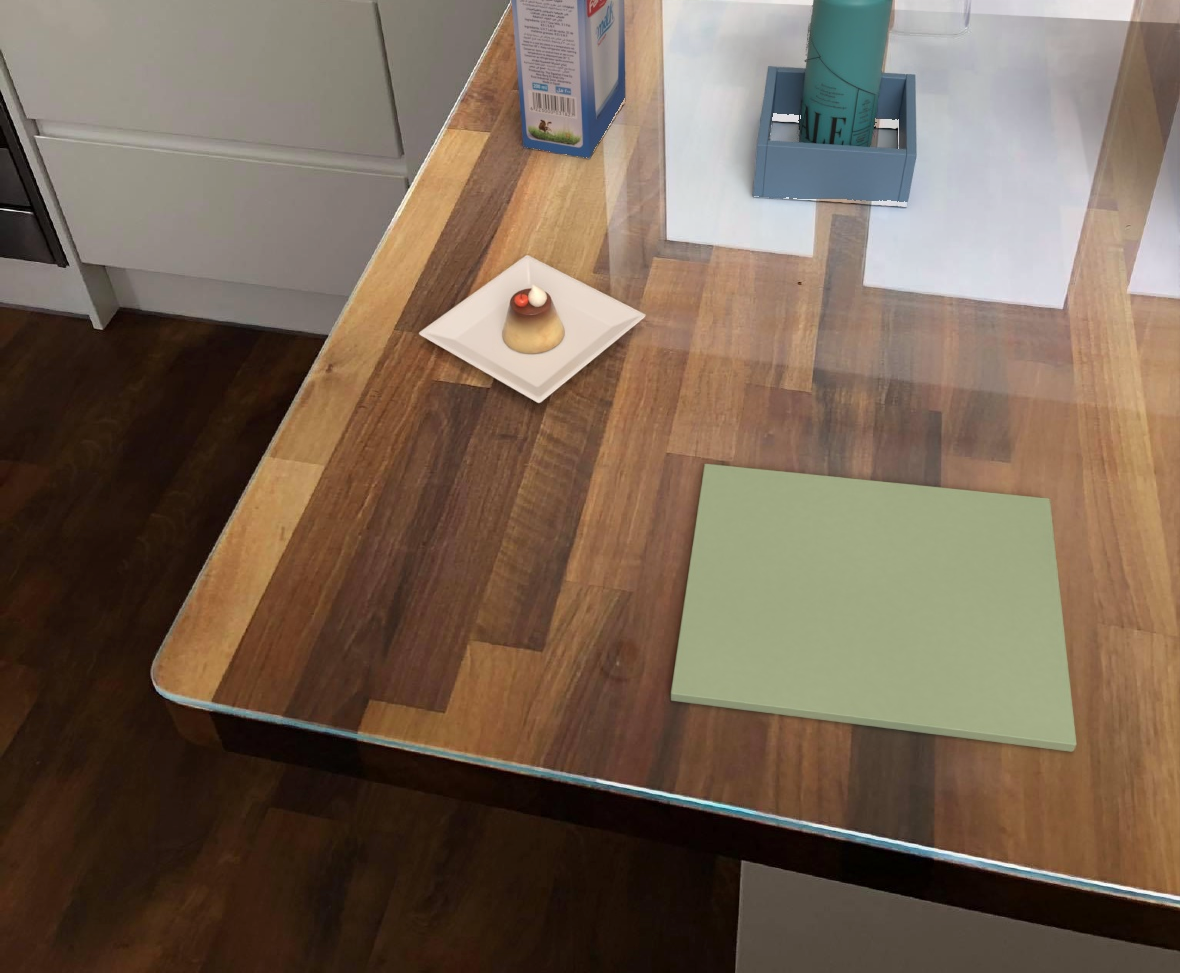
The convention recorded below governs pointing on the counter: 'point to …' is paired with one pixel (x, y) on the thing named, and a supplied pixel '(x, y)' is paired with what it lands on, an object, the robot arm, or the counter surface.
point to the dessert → (532, 327)
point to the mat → (876, 607)
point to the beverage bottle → (843, 71)
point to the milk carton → (569, 71)
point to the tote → (835, 148)
